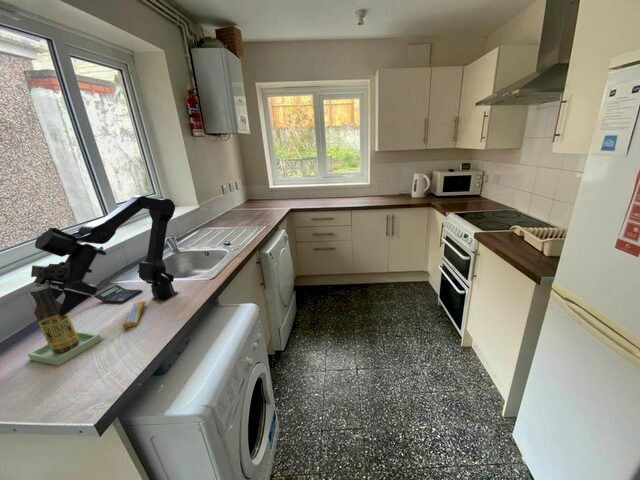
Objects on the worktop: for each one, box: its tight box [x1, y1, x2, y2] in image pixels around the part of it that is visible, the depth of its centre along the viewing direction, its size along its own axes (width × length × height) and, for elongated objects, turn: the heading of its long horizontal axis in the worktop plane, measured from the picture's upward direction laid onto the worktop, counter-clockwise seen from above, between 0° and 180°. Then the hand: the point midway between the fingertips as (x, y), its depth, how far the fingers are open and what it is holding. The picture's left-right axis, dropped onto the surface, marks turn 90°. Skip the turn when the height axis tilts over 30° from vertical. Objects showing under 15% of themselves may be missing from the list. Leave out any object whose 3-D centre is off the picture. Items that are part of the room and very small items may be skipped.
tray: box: [27, 330, 102, 367], centre depth 85 cm, size 12×12×2 cm
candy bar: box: [122, 300, 147, 329], centre depth 101 cm, size 17×4×2 cm, turn 24°
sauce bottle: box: [29, 285, 79, 354], centre depth 82 cm, size 6×6×20 cm
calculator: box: [94, 284, 143, 304], centre depth 115 cm, size 9×12×3 cm
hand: (50, 313), depth 81 cm, fingers open, 9 cm apart
